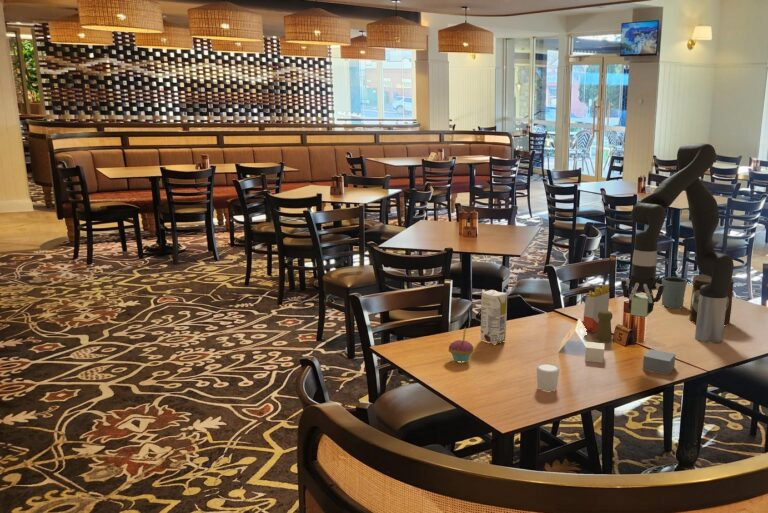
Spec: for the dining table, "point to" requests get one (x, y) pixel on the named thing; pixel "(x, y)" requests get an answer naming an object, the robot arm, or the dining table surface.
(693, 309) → the wooden container
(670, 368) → the slate block
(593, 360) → the cream block
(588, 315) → the french fries container
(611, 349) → the dining table surface
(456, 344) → the cupcake
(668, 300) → the green tapered bucket
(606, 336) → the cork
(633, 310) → the sage block
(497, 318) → the juice carton
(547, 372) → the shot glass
